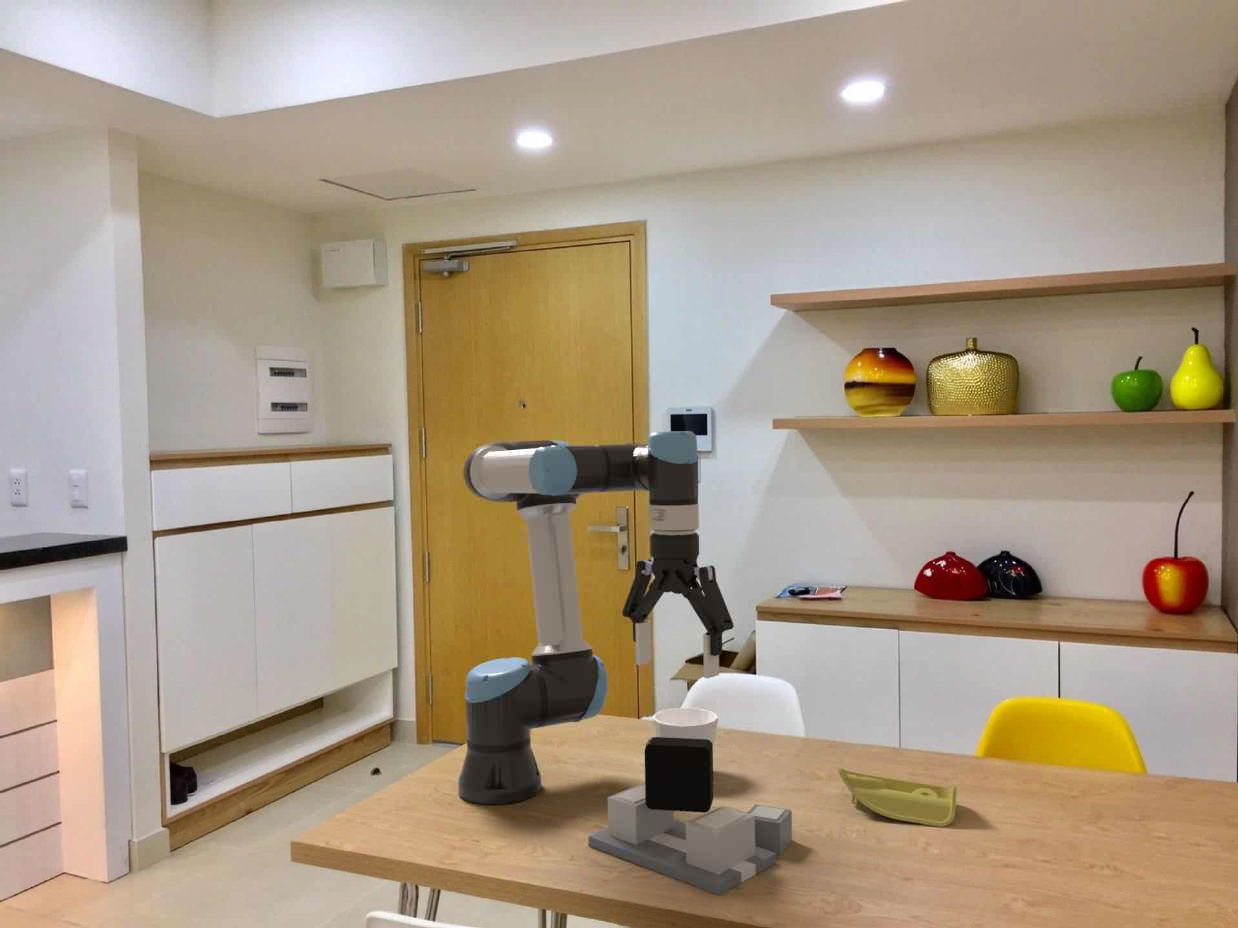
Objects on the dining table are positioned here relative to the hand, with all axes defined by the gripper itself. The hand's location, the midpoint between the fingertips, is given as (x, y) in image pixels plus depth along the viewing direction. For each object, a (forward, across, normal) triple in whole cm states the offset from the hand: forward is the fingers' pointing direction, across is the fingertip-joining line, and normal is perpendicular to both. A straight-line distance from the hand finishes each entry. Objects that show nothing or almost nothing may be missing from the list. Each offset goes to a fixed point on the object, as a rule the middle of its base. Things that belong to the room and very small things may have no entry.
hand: (676, 669), depth 155 cm
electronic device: (+21, 0, 0) cm, 21 cm away
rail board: (+29, 0, 0) cm, 29 cm away
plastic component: (+29, +16, +39) cm, 51 cm away
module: (+29, +8, +12) cm, 32 cm away
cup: (+29, -22, +29) cm, 47 cm away
